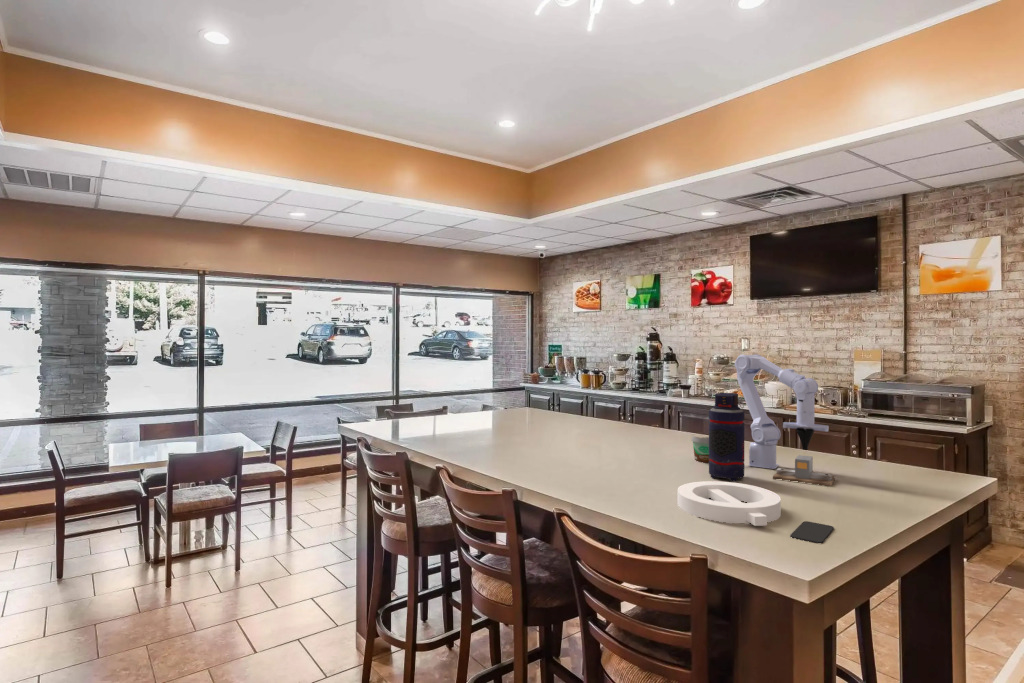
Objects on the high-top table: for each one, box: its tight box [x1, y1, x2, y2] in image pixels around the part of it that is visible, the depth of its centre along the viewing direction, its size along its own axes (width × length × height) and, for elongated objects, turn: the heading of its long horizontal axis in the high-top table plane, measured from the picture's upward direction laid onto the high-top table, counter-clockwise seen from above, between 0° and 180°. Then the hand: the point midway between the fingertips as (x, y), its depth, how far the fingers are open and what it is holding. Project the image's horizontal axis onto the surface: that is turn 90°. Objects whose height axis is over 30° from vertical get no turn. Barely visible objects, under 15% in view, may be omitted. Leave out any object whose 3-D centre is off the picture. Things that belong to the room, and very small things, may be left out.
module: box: [794, 454, 814, 479], centre depth 200 cm, size 4×8×6 cm, turn 145°
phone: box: [789, 520, 835, 544], centre depth 145 cm, size 7×1×15 cm
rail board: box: [772, 467, 836, 487], centre depth 200 cm, size 18×12×3 cm, turn 55°
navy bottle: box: [708, 392, 745, 482], centre depth 203 cm, size 14×12×30 cm
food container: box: [690, 435, 710, 464], centre depth 227 cm, size 12×6×10 cm, turn 73°
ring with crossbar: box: [677, 480, 782, 527], centre depth 165 cm, size 28×28×5 cm
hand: (805, 449), depth 205 cm, fingers closed
